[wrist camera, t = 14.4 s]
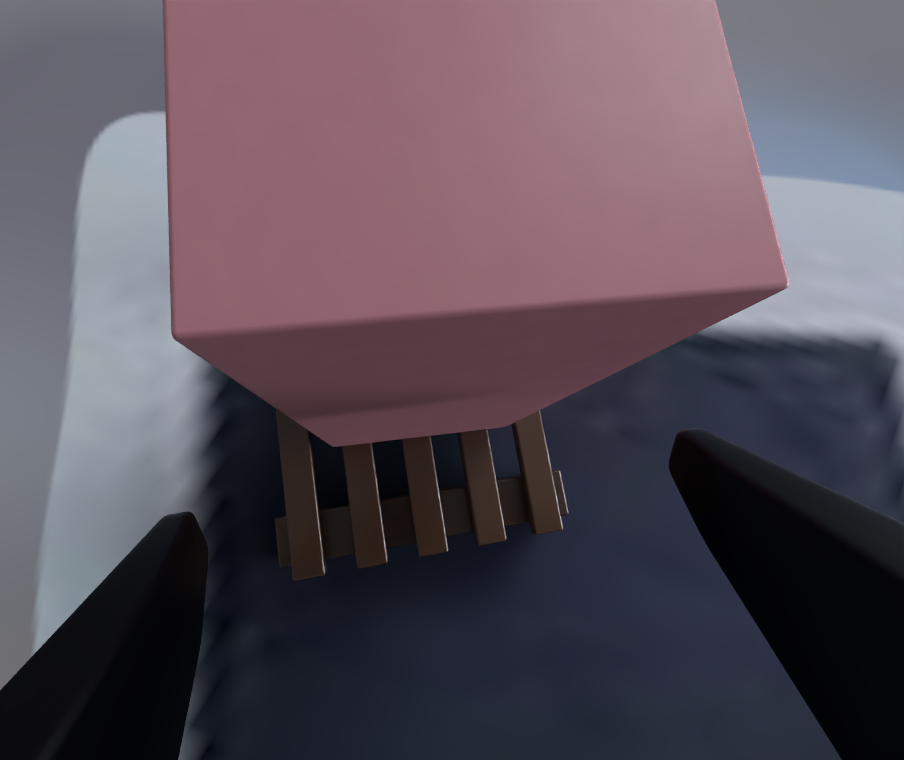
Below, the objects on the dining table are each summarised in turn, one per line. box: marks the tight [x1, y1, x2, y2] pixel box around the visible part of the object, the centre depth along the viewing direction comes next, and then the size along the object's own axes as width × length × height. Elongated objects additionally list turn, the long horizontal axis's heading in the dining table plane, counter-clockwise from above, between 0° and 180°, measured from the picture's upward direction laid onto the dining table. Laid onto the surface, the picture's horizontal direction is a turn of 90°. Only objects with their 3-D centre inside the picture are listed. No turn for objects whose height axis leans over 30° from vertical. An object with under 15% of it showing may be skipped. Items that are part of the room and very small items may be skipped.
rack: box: [275, 408, 568, 581], centre depth 19 cm, size 12×10×3 cm
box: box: [163, 0, 789, 447], centre depth 12 cm, size 7×6×13 cm
